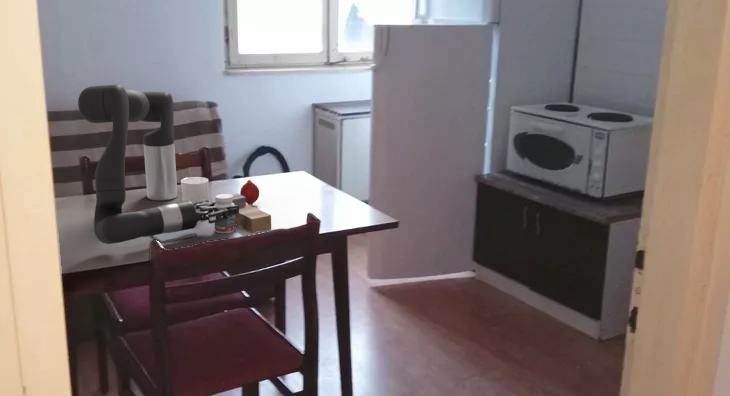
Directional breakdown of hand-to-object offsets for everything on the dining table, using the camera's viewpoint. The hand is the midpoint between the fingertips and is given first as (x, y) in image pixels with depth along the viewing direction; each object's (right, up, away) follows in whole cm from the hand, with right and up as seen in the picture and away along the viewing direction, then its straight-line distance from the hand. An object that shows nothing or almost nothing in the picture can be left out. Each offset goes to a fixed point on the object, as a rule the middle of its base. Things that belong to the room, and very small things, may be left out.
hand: (232, 206), depth 203 cm
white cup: (-14, -2, +16) cm, 21 cm away
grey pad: (-16, -8, -3) cm, 18 cm away
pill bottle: (-2, -7, 0) cm, 7 cm away
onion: (+1, 0, +25) cm, 25 cm away
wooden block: (+2, -5, +8) cm, 9 cm away
